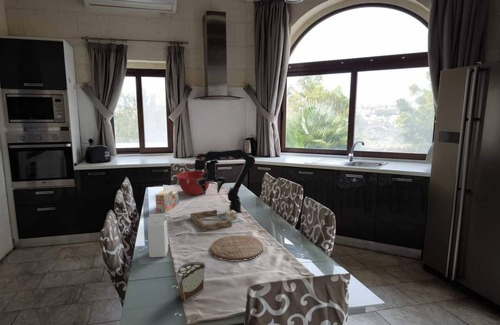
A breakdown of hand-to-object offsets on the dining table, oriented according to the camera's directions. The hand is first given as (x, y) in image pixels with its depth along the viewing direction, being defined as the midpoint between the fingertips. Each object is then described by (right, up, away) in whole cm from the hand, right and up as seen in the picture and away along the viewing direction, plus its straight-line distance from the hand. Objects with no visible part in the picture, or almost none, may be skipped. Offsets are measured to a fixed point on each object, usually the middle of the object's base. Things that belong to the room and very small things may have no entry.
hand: (211, 193), depth 201 cm
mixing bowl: (-20, -5, +50) cm, 54 cm away
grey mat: (+13, -14, -11) cm, 22 cm away
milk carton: (-17, -22, -58) cm, 65 cm away
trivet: (+19, -21, -53) cm, 60 cm away
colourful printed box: (-31, -11, +11) cm, 35 cm away
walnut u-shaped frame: (+1, -15, -17) cm, 23 cm away
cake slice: (+3, -27, -90) cm, 93 cm away
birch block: (+13, -14, -11) cm, 22 cm away
